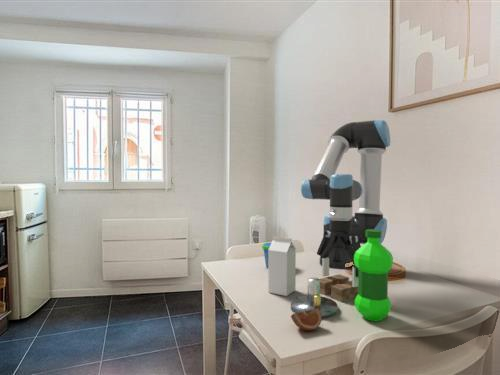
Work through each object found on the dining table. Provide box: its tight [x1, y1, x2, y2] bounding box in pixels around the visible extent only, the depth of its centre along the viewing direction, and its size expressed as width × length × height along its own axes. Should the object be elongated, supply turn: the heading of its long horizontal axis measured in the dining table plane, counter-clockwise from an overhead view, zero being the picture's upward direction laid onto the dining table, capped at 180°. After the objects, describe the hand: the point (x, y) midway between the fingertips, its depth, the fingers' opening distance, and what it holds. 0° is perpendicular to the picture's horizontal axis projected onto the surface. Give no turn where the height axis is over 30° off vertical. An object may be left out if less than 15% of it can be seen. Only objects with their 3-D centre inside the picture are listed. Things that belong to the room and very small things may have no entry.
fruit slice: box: [290, 308, 323, 332], centre depth 89 cm, size 8×7×5 cm
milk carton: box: [267, 236, 297, 297], centre depth 117 cm, size 7×7×19 cm
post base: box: [290, 277, 338, 319], centre depth 102 cm, size 14×14×9 cm
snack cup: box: [261, 241, 272, 268], centre depth 147 cm, size 16×10×10 cm
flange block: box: [319, 273, 358, 303], centre depth 115 cm, size 12×12×4 cm
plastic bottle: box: [354, 229, 394, 322], centre depth 95 cm, size 10×10×25 cm
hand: (339, 281), depth 115 cm, fingers open, 13 cm apart
